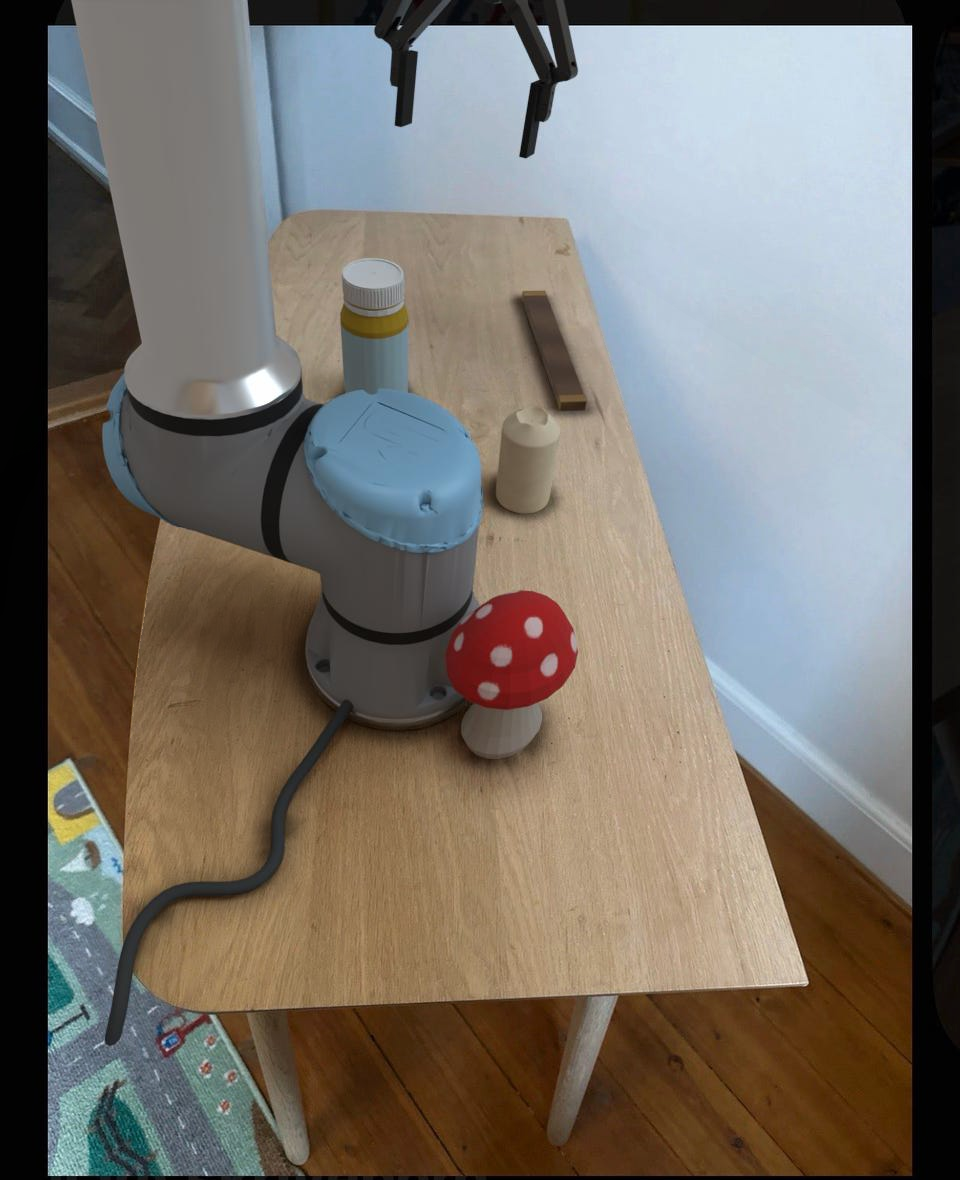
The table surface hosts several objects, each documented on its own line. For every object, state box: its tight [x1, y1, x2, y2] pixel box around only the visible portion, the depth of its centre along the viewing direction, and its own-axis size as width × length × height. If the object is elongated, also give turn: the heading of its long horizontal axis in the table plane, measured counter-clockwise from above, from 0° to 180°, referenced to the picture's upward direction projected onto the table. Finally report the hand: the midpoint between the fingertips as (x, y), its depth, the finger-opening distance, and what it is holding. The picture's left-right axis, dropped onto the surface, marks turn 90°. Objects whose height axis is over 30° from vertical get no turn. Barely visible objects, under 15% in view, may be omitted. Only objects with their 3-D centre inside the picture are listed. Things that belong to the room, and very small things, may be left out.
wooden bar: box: [521, 290, 588, 412], centre depth 106 cm, size 24×3×1 cm, turn 8°
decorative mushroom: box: [445, 589, 579, 760], centre depth 64 cm, size 10×9×15 cm
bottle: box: [339, 257, 409, 394], centre depth 93 cm, size 7×7×15 cm
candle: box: [495, 405, 561, 514], centre depth 85 cm, size 6×6×10 cm
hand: (464, 140), depth 89 cm, fingers open, 13 cm apart
